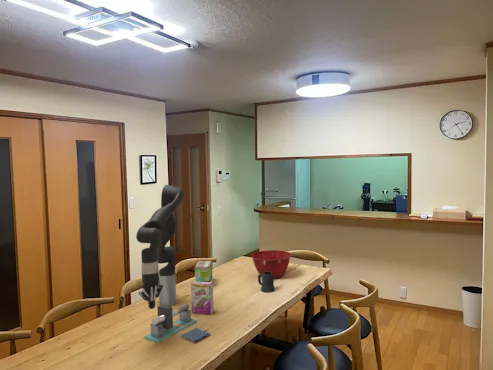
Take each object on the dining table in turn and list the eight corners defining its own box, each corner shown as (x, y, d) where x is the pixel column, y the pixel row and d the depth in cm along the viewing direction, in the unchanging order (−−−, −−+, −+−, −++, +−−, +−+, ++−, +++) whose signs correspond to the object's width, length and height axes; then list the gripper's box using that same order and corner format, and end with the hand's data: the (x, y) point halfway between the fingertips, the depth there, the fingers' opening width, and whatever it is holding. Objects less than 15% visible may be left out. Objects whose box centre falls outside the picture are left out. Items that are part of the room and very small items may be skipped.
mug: (278, 289, 230) (277, 272, 229) (269, 293, 223) (268, 275, 223) (263, 285, 238) (263, 269, 237) (254, 289, 231) (254, 272, 231)
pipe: (158, 338, 167) (157, 320, 166) (150, 335, 169) (150, 317, 169) (191, 320, 185) (190, 304, 184) (184, 318, 187) (183, 302, 187)
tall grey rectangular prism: (168, 329, 170) (167, 309, 170) (158, 326, 174) (157, 306, 174) (173, 327, 173) (172, 307, 172) (162, 324, 177) (162, 304, 176)
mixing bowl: (247, 280, 250) (246, 258, 249) (257, 269, 277) (257, 249, 276) (287, 283, 242) (286, 260, 241) (294, 271, 269) (294, 250, 268)
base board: (157, 343, 164) (157, 340, 164) (144, 338, 169) (144, 336, 169) (196, 322, 185) (196, 319, 185) (184, 318, 190) (184, 316, 190)
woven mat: (195, 330, 177) (195, 326, 177) (211, 336, 170) (211, 332, 170) (179, 338, 169) (179, 334, 169) (195, 345, 162) (194, 341, 162)
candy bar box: (191, 313, 196) (190, 283, 196) (195, 309, 201) (194, 280, 200) (211, 315, 193) (209, 284, 193) (214, 311, 198) (213, 282, 197)
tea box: (210, 288, 236) (209, 266, 235) (194, 289, 236) (194, 266, 235) (212, 281, 251) (212, 260, 250) (198, 281, 251) (197, 260, 250)
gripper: (155, 266, 173) (157, 302, 174) (133, 273, 162) (134, 311, 163) (166, 268, 169) (168, 305, 170) (144, 276, 158) (146, 315, 159)
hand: (151, 308), depth 166 cm, fingers closed
